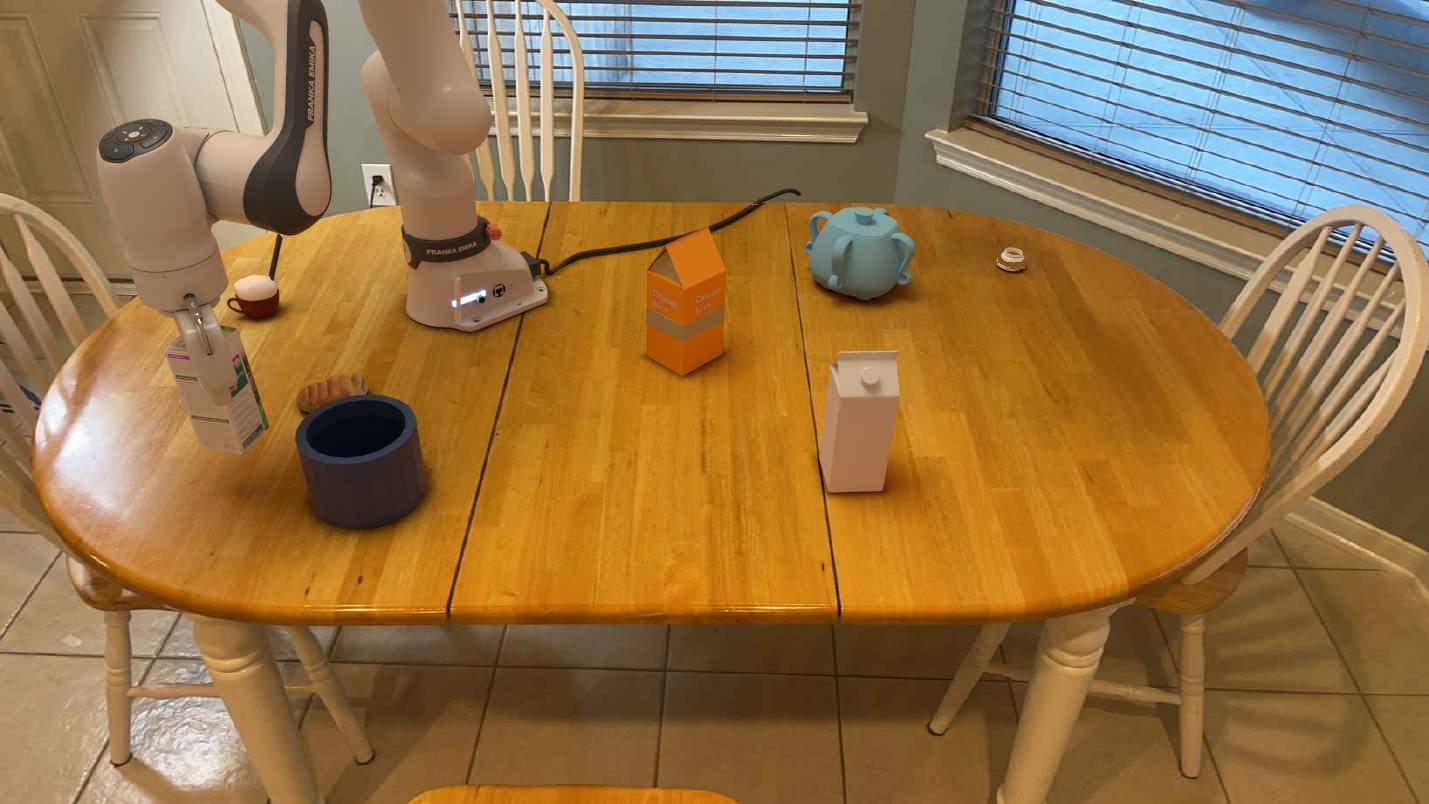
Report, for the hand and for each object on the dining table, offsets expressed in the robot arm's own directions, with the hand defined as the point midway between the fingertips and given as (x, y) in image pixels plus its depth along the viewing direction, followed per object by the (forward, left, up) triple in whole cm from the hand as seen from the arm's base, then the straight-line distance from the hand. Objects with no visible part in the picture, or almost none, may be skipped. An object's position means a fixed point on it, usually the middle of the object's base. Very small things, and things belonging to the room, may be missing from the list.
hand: (215, 382), depth 117 cm
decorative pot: (-100, -4, -16) cm, 101 cm away
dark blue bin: (-13, +9, -16) cm, 22 cm away
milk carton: (-67, +36, -16) cm, 77 cm away
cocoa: (-12, -42, -16) cm, 46 cm away
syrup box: (0, 0, -9) cm, 9 cm away
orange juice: (-63, +1, -16) cm, 65 cm away
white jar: (-128, +5, -16) cm, 129 cm away
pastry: (-15, -12, -16) cm, 25 cm away
